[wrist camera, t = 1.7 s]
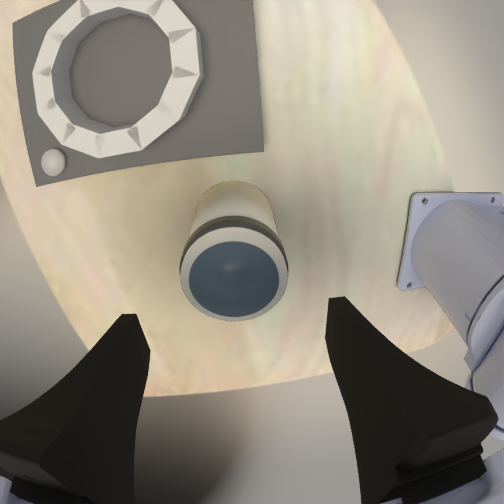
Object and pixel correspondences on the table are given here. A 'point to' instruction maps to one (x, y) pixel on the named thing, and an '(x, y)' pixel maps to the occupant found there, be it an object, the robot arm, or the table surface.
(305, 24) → the table surface
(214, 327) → the table surface
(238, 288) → the lens
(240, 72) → the camera body
